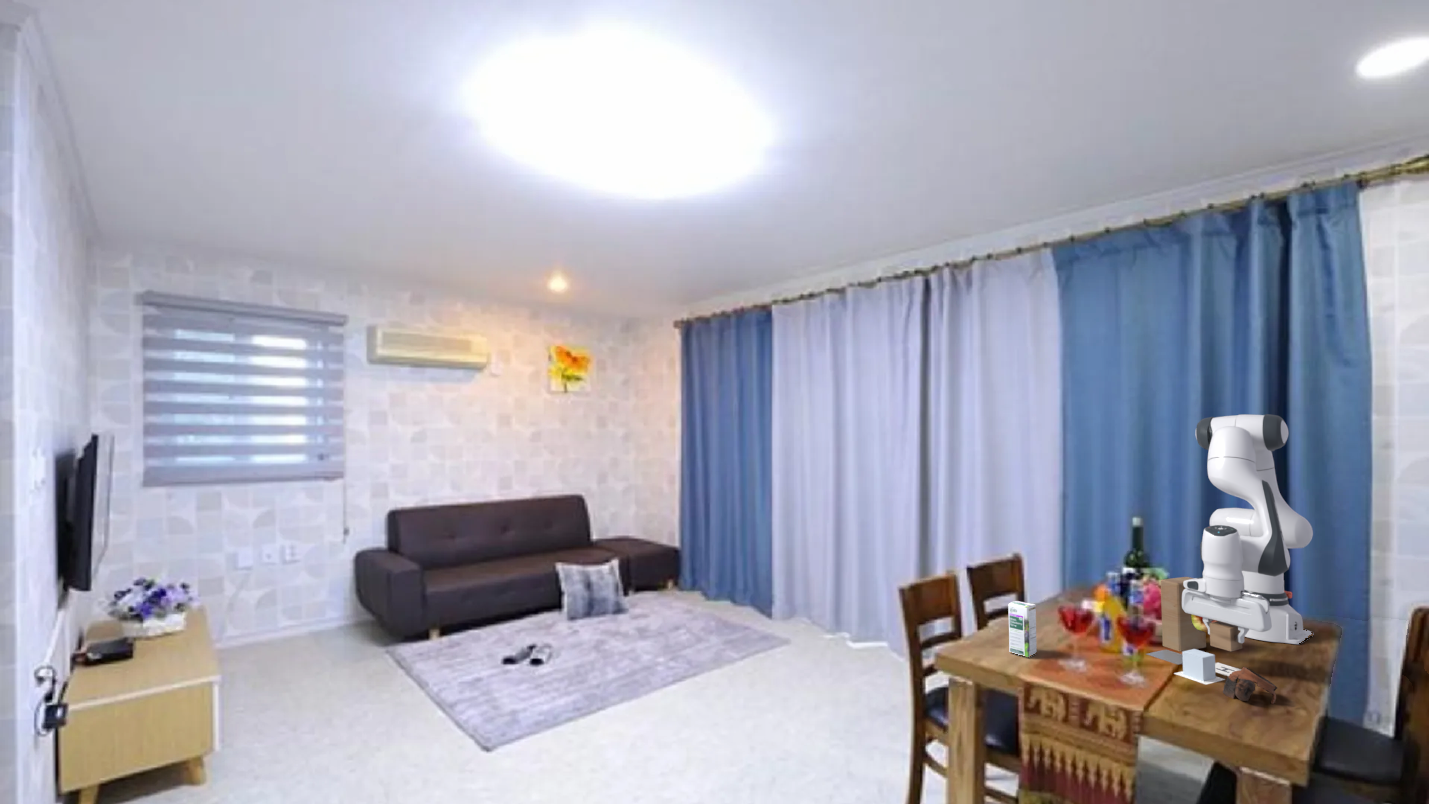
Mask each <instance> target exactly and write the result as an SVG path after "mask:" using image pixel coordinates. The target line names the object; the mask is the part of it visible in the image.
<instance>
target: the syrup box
mask: <svg viewBox="0 0 1429 804" xmlns="http://www.w3.org/2000/svg"><path fill="white" fill-rule="evenodd" d="M1036 606H1037V605H1036V604H1034V603H1028V602H1024V601H1019V600H1015V601H1011V602H1010V603H1008V605H1007V607H1008V608H1007V609H1008V610H1007V611H1008V639H1009V640H1008V642H1009V644H1008V647H1009V651H1008V652H1012V653H1015V654H1018V655H1017V656H1019V655H1023V656H1026V657H1029V656H1030V655H1033V654H1035V653H1036V652H1037V650H1038V649H1037V648H1038V647H1037V613H1036V608H1037V607H1036ZM1015 654H1014V655H1015ZM1035 655H1036V654H1035ZM1033 656H1034V655H1033ZM1026 657H1025V658H1026ZM1029 658H1030V657H1029Z"/></svg>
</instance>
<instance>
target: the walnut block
mask: <svg viewBox="0 0 1429 804" xmlns="http://www.w3.org/2000/svg"><path fill="white" fill-rule="evenodd" d="M1209 625H1210V635H1209V641H1210V642H1209V644H1210V646H1211V647H1214V648H1218V649H1221V650H1224V651H1228V652H1234V651H1238V650H1242V649H1243V643H1238V642H1235V641H1234V639H1235V638H1234V635H1237V634H1239V633H1240V630H1238V626H1235V625H1231V624H1228V623H1224V622H1220V621H1214V622H1213V621H1212V623H1209Z"/></svg>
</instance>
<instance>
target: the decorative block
mask: <svg viewBox="0 0 1429 804" xmlns="http://www.w3.org/2000/svg"><path fill="white" fill-rule="evenodd" d="M1189 579H1194V577H1191V576H1182V577H1181V576H1180V577H1173V578H1165V579H1164V578H1163V579H1161V580H1160V600H1161V601H1160V602H1161V603H1160V604H1161V605H1160V606H1161V631H1162V633H1161V634H1162V636H1161V637H1162V646H1163V647H1165V648H1168V649H1170V650H1174V651H1177V652H1183V651H1187V650H1191V649H1197V650H1199V649H1205V648H1207V633H1206V632H1205V631H1203V630H1200V629H1198V628H1197V627H1196V626H1195V624H1194V623H1193V619H1192V614H1188V613H1185V612H1184V610H1183V609H1182V593H1183V590H1184V589H1186V588H1185V587H1184V585H1183V582H1184V581H1186V580H1189Z"/></svg>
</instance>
